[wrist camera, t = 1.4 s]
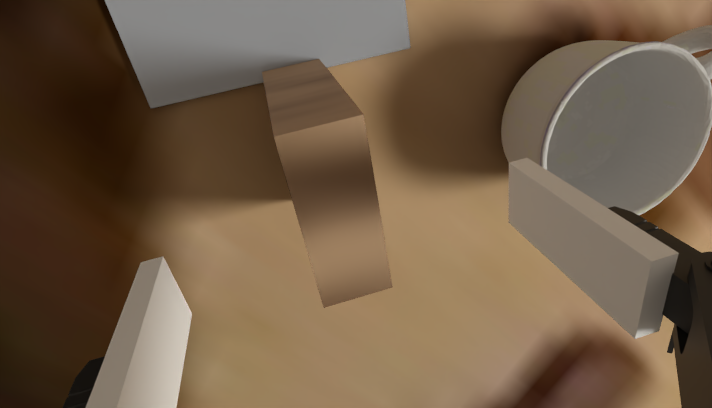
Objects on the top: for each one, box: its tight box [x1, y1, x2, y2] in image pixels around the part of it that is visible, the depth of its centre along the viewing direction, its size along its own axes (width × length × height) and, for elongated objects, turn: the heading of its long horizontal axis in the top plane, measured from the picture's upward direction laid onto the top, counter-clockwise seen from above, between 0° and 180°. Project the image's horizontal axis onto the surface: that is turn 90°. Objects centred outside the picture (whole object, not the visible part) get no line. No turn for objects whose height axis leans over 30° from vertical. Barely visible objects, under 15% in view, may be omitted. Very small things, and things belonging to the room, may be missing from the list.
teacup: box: [501, 25, 712, 215], centre depth 27 cm, size 14×11×8 cm
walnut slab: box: [262, 59, 392, 308], centre depth 23 cm, size 9×4×11 cm, turn 11°
